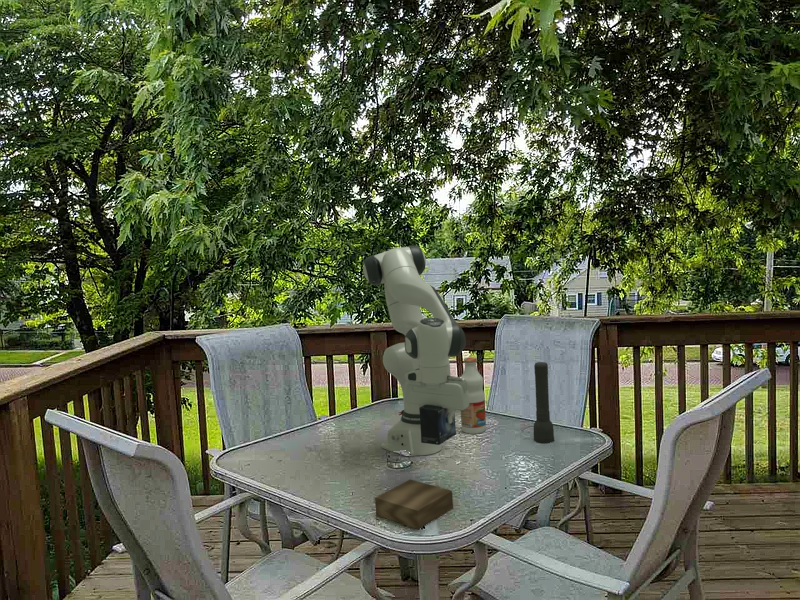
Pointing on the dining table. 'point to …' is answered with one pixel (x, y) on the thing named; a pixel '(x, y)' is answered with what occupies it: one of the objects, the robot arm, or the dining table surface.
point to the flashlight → (542, 406)
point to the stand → (414, 503)
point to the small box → (435, 424)
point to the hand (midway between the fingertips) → (437, 421)
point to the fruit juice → (473, 400)
